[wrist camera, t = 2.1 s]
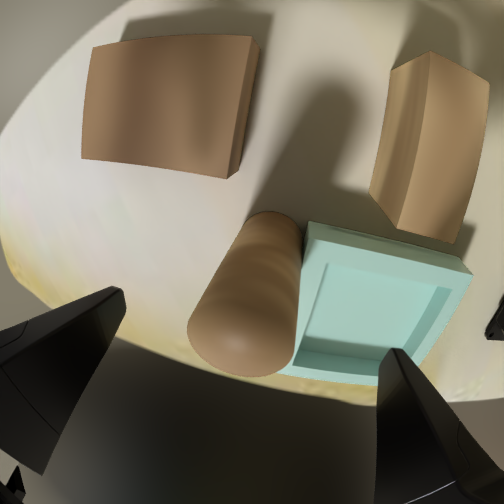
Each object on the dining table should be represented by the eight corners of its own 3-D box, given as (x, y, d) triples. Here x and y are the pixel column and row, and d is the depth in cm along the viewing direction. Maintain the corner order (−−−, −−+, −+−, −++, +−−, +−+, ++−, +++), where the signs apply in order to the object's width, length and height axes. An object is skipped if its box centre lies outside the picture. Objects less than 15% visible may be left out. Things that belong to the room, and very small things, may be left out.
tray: (458, 256, 12) (473, 275, 10) (397, 365, 16) (401, 387, 14) (308, 220, 13) (308, 237, 11) (276, 348, 17) (272, 372, 15)
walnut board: (261, 50, 10) (252, 36, 8) (240, 169, 13) (226, 179, 11) (120, 53, 10) (92, 47, 8) (108, 150, 13) (81, 158, 11)
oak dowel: (308, 218, 13) (307, 315, 7) (295, 274, 14) (282, 384, 8) (243, 206, 13) (185, 288, 7) (236, 262, 15) (188, 362, 8)
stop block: (437, 89, 8) (489, 83, 5) (413, 205, 11) (454, 244, 7) (390, 71, 9) (430, 50, 5) (368, 192, 12) (396, 228, 8)
